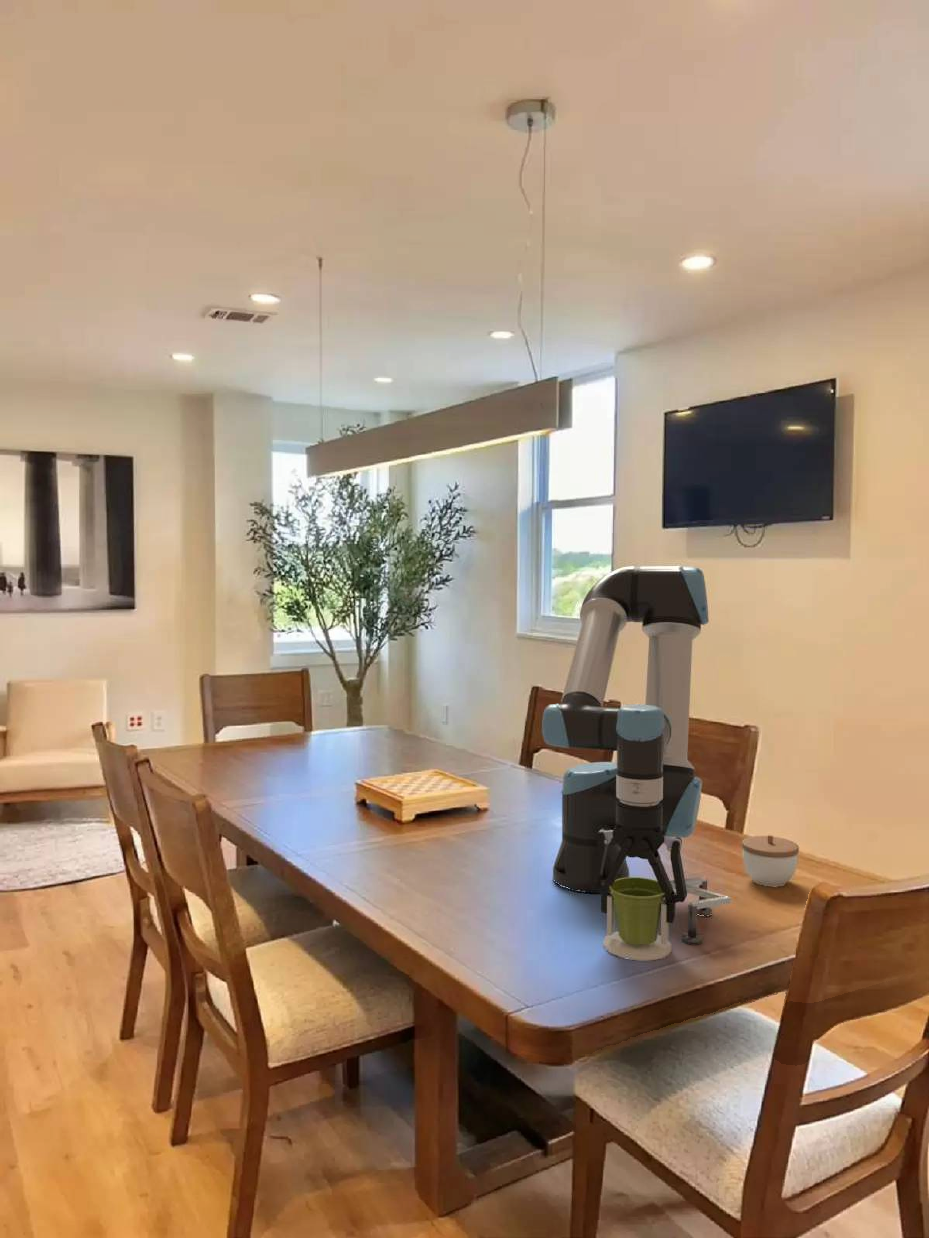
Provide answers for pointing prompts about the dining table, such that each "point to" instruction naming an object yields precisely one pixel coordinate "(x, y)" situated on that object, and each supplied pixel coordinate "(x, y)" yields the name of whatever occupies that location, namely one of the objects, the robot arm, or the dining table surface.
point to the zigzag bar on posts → (699, 906)
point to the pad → (636, 948)
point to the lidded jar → (770, 859)
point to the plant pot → (637, 908)
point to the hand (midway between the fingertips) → (637, 936)
